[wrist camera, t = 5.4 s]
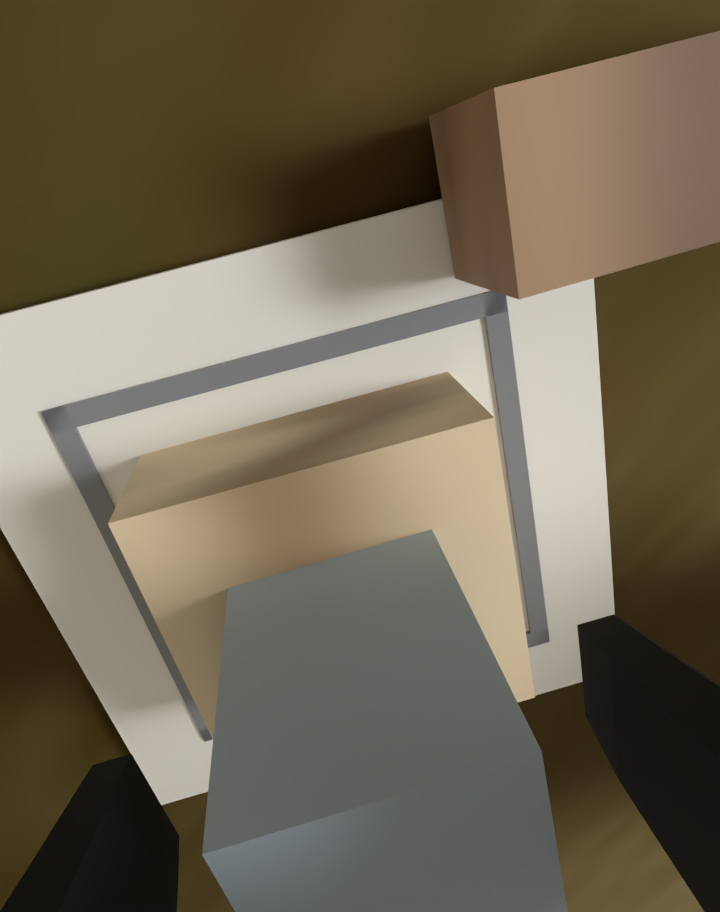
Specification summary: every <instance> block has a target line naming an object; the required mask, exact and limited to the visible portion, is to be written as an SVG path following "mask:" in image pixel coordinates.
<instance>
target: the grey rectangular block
mask: <svg viewBox="0 0 720 912" xmlns="http://www.w3.org/2000/svg"><path fill="white" fill-rule="evenodd" d="M202 855H203V857H204V859H205V861H206V862H207V864H208V866H209V868H210V869H211V871H212V873H213V874H214V876H215V878H216V880H217V881H218V883H219V885H220V886H221V888H222V890H223V892H224V893H225V895H226V897H227V899H228V900H229V902H230V904H231V905H232V907H233V909H234V911H235V912H568V910H567V904H566V898H565V892H564V886H563V879H562V873H561V867H560V861H559V855H558V849H557V842H556V836H555V830H554V824H553V818H552V812H551V805H550V799H549V793H548V787H547V781H546V774H545V768H544V762H543V756H542V751H541V749H540V747H539V745H538V743H537V741H536V739H535V737H534V735H533V733H532V731H531V729H530V727H529V725H528V723H527V721H526V719H525V717H524V715H523V713H522V711H521V708H520V706H519V704H518V702H517V700H516V698H515V696H514V694H513V692H512V690H511V688H510V686H509V684H508V682H507V680H506V678H505V676H504V674H503V672H502V670H501V668H500V666H499V664H498V662H497V660H496V658H495V656H494V654H493V652H492V650H491V648H490V646H489V644H488V642H487V640H486V638H485V636H484V634H483V632H482V630H481V628H480V625H479V623H478V621H477V619H476V617H475V615H474V613H473V611H472V609H471V607H470V605H469V603H468V601H467V599H466V597H465V595H464V593H463V591H462V589H461V587H460V585H459V583H458V581H457V579H456V577H455V575H454V573H453V571H452V569H451V567H450V565H449V563H448V561H447V559H446V557H445V555H444V553H443V551H442V549H441V547H440V544H439V542H438V540H437V538H436V536H435V534H434V532H433V530H432V529H431V530H428V531H424V532H421V533H417V534H414V535H410V536H407V537H403V538H400V539H396V540H393V541H390V542H386V543H383V544H379V545H376V546H372V547H369V548H365V549H362V550H358V551H355V552H352V553H348V554H345V555H341V556H338V557H334V558H331V559H327V560H324V561H320V562H317V563H314V564H310V565H307V566H303V567H300V568H296V569H293V570H289V571H286V572H282V573H279V574H275V575H272V576H269V577H265V578H262V579H258V580H255V581H251V582H248V583H244V584H241V585H237V586H234V587H231V588H228V592H227V602H226V613H225V623H224V633H223V644H222V654H221V664H220V674H219V685H218V695H217V705H216V716H215V726H214V736H213V747H212V757H211V767H210V777H209V788H208V798H207V808H206V819H205V829H204V839H203V850H202Z"/></svg>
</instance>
